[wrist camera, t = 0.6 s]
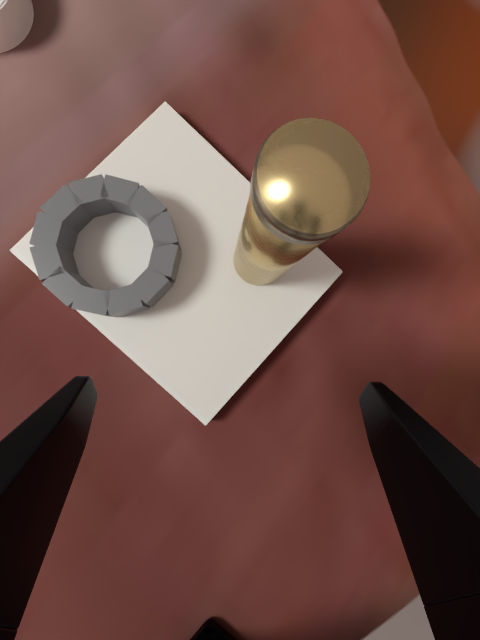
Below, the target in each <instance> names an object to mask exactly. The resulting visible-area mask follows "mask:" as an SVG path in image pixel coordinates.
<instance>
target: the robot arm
mask: <svg viewBox="0 0 480 640" xmlns="http://www.w3.org/2000/svg"><path fill="white" fill-rule="evenodd" d="M96 401H97V391H96V388H95V386H94V383H93V380H92V378H91V377H89V376H76V377H74V378H73V379H72V380H71V381H69V382H68V383H67V384H66V385H65V386H64V387H63V388H61V389H60V390H59V391H58V392H57V393H56V394H54V395H53V396H52V397H51V398H50V399H49V400H47V401H46V402H45V403H44V404H43V405H42V406H41V407H39V408H38V409H37V410H36V411H35V412H34V413H32V414H31V415H30V416H29V417H28V418H27V419H26V420H24V421H23V422H22V423H21V424H20V425H19V426H17V427H16V428H15V429H14V430H13V431H12V432H11V433H9V434H8V435H7V436H6V437H5V438H4V439H2V440H1V441H0V640H14V639H15V636H16V633H17V629H18V627H19V625H20V622H21V619H22V617H23V614H24V611H25V608H26V606H27V603H28V600H29V598H30V595H31V592H32V589H33V587H34V584H35V581H36V579H37V576H38V573H39V571H40V568H41V565H42V562H43V560H44V557H45V554H46V552H47V549H48V546H49V543H50V541H51V538H52V535H53V533H54V530H55V527H56V524H57V522H58V519H59V516H60V514H61V511H62V508H63V506H64V503H65V500H66V497H67V495H68V492H69V489H70V487H71V484H72V481H73V478H74V476H75V473H76V470H77V468H78V465H79V462H80V460H81V457H82V454H83V451H84V448H85V445H86V441H87V438H88V433H89V429H90V425H91V421H92V417H93V413H94V409H95V405H96ZM360 406H361V411H362V415H363V419H364V424H365V428H366V433H367V437H368V441H369V445H370V448H371V452H372V455H373V458H374V460H375V463H376V466H377V469H378V472H379V475H380V478H381V481H382V484H383V487H384V490H385V493H386V496H387V499H388V502H389V505H390V508H391V511H392V514H393V516H394V519H395V522H396V525H397V528H398V531H399V534H400V537H401V540H402V543H403V546H404V549H405V552H406V555H407V558H408V561H409V564H410V567H411V570H412V572H413V575H414V578H415V581H416V584H417V587H418V590H419V593H420V596H421V599H422V602H423V604H424V605H425V606H424V608H425V611H426V614H427V617H428V620H429V623H430V626H431V629H432V632H433V635H434V638H435V640H480V468H479V467H478V466H476V465H475V464H474V463H473V462H472V461H471V460H470V459H469V458H467V457H466V456H465V455H464V454H463V453H462V452H461V451H459V450H458V449H457V448H456V447H455V446H454V445H453V444H451V443H450V442H449V441H448V440H447V439H446V438H445V437H444V436H442V435H441V434H440V433H439V432H438V431H437V430H436V429H434V428H433V427H432V426H431V425H430V424H429V423H428V422H427V421H425V420H424V419H423V418H422V417H421V416H420V415H419V414H417V413H416V412H415V411H414V410H413V409H412V408H411V407H410V406H408V405H407V404H406V403H405V402H404V401H403V400H402V399H400V398H399V397H398V396H397V395H396V394H395V393H394V392H393V391H391V390H390V389H389V388H388V387H387V386H386V385H385V384H383V383H381V382H369V383H368V384H367V385H366V387H365V389H364V390H363V392H362V393H361V395H360ZM208 629H211V630H208ZM190 640H236V639H235V638H233V637H232V636H231V635H230V634H229V633H227V632H226V631H225V630H224V629H223V628H222V627H220V626H219V625H218V624H217V623H216V622H215V621H213V620H207V621H206V622H204V624H203V625H202V626H201V627H200V629H199V630H198V631H197V632H196V633H195V635H194V636H193V637H192V638H191V639H190Z"/></svg>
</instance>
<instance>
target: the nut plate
mask: <svg viewBox="0 0 480 640" xmlns="http://www.w3.org/2000/svg"><path fill="white" fill-rule="evenodd" d="M68 184H69V187H70V189H69V188H68V187H67V186H66V185H65V184H64V185H63V186H62V187H61V188H60V189H59V190H58V191H57V192H56V193H55V194H54V195H53V196H52V197H51V198H50V199H49V200H48V201H47V202H45V203H44V204H43V205H42V206H41V207H40V208H41V209H42V210H43V211H44V212H45V213H44V212H40V211H38V213H37V217H36V220H35V224H34V227H33V228H32V229H31V230H30V231H29V232H28V233H27V234H26V235H25V236H24V237H23V238H22V239H21V240H20V241H19V242H18V243H17V244H16V245H15V246H14V247H13V248H12V249H10V251H11V252H12V253H13V254H14V255H15V256H16V257H17V258H18V259H20V260H21V261H22V262H23V263H24V264H25V265H26V266H27V267H29V268H30V269H31V270H32V271H33V272H34V273H35V274H36V275H38V277H39V280H41V281H44V282H43V283H42V284H43V285H44V286H45V287H46V288H47V289H48V290H50V291H51V292H52V293H53V294H54V295H55V296H56V297H57V298H59V299H60V300H61V301H62V302H63V303H64V304H65V305H66V306H68V307H72V308H71V309H76V310H77V311H78V312H79V313H80V314H81V315H82V316H83V317H85V318H86V319H87V320H88V321H89V322H90V323H91V324H92V325H94V326H95V327H96V328H97V329H98V330H99V331H100V332H101V333H102V334H104V335H105V336H106V337H107V338H108V339H109V340H110V341H111V342H113V343H114V344H115V345H116V346H117V347H118V348H119V349H120V350H122V351H123V352H124V353H125V354H126V355H127V356H128V357H129V358H130V359H132V360H133V361H134V362H135V363H136V364H137V365H138V366H139V367H141V368H142V369H143V370H144V371H145V372H146V373H147V374H148V375H150V376H151V377H152V378H153V379H154V380H155V381H156V382H157V383H158V384H160V385H161V386H162V387H163V388H164V389H165V390H166V391H167V392H169V393H170V394H171V395H172V396H173V397H174V398H175V399H176V400H178V401H179V402H180V403H181V404H182V405H183V406H184V407H185V408H186V409H188V410H189V411H190V412H191V413H192V414H193V415H194V416H195V417H197V418H198V419H199V420H200V421H201V422H202V423H203V424H204V425H207V424H208V423H209V421H210V420H211V419H212V418H213V417H214V416H215V415H216V414H217V413H218V411H219V410H220V409H221V408H222V407H223V406H224V405H225V404H226V402H227V401H228V400H229V399H230V398H231V397H232V396H233V395H234V393H235V392H236V391H237V390H238V389H239V388H240V387H241V386H242V384H243V383H244V382H245V381H246V380H247V379H248V378H249V377H250V375H251V374H252V373H253V372H254V371H255V370H256V369H257V368H258V367H259V365H260V364H261V363H262V362H263V361H264V360H265V359H266V358H267V356H268V355H269V354H270V353H271V352H272V351H273V350H274V349H275V347H276V346H277V345H278V344H279V343H280V342H281V341H282V340H283V338H284V337H285V336H286V335H287V334H288V333H289V332H290V331H291V329H292V328H293V327H294V326H295V325H296V324H297V323H298V322H299V321H300V319H301V318H302V317H303V316H304V315H305V314H306V313H307V312H308V310H309V309H310V308H311V307H312V306H313V305H314V304H315V303H316V301H317V300H318V299H319V298H320V297H321V296H322V295H323V294H324V292H325V291H326V290H327V289H328V288H329V287H330V286H331V285H332V283H333V282H334V281H335V280H336V279H337V278H338V277H339V276H340V275H341V273H342V272H343V271H342V270H341V269H340V268H339V267H338V266H337V265H336V264H334V263H333V262H332V261H331V260H330V259H329V258H328V257H327V256H326V255H325V254H324V253H323V252H322V251H321V250H320V249H319V248H318V247H316V248H315V249H314V250H313V251H311V252H310V253H309V254H308V255H306V256H305V257H304V258H303V259H301V260H300V261H299V262H298V263H296V264H295V265H294V266H293V267H291V268H290V269H289V270H288V271H286V272H285V273H284V274H282V275H281V276H280V277H279V278H277V279H276V280H275V281H274V282H272V283H270V284H268V285H264V286H256V285H252V284H249V283H247V282H245V281H244V280H243V279H242V278H241V277H240V276H239V275H238V274H237V272H236V270H235V267H234V262H233V257H234V252H235V248H236V244H237V241H238V237H239V233H240V229H241V225H242V222H243V218H244V214H245V210H246V206H247V203H248V199H249V195H250V182H249V181H248V180H247V179H246V178H245V177H244V176H243V175H241V174H240V173H239V172H238V171H237V170H236V169H235V168H234V167H233V166H232V165H231V164H230V163H229V162H228V161H227V160H226V159H225V158H224V157H223V156H222V155H221V154H220V153H219V152H217V151H216V150H215V149H214V148H213V147H212V146H211V145H210V144H209V143H208V142H207V141H206V140H205V139H204V138H203V137H202V136H201V135H200V134H199V133H198V132H197V131H196V130H194V129H193V128H192V127H191V126H190V125H189V124H188V123H187V122H186V121H185V120H184V119H183V118H182V117H181V116H180V115H179V114H178V113H177V112H176V111H175V110H174V109H173V108H171V107H170V106H169V105H168V104H167V103H166V102H164V103H163V104H162V105H161V106H160V107H159V108H158V109H157V110H156V111H155V112H154V113H152V114H151V115H150V116H149V117H148V118H147V119H146V120H145V121H144V122H143V123H142V124H141V125H140V126H139V127H138V128H137V129H136V130H135V131H134V132H133V133H132V134H131V135H130V136H128V137H127V138H126V139H125V140H124V141H123V142H122V143H121V144H120V145H119V146H118V147H117V148H116V149H115V150H114V151H113V152H112V153H111V154H110V155H109V156H108V157H107V158H105V159H104V160H103V161H102V162H101V163H100V164H99V165H98V166H97V167H96V168H95V169H94V170H93V171H92V172H91V173H90V174H89V175H88V176H87V177H86V178H84V179H80V180H76V181H72V182H68Z"/></svg>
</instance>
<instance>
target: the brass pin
mask: <svg viewBox="0 0 480 640" xmlns="http://www.w3.org/2000/svg"><path fill="white" fill-rule="evenodd" d="M369 185H370V171H369V165H368V161H367V158H366V156H365V153H364V151H363V150H362V148H361V146H360V145H359V143H358V142H357V140H356V139H355V138H354V137H353V136H352V135H351V134H350V133H349V132H348V131H346V130H345V129H344V128H342V127H341V126H339V125H337V124H335V123H333V122H330V121H327V120H323V119H318V118H303V119H297V120H294V121H291V122H289V123H287V124H285V125H283V126H281V127H280V128H278V129H277V130H275V131H274V132H273V133H272V134H271V135H269V137H268V138H267V139H266V140H265V141H264V143H263V144H262V146H261V148H260V150H259V152H258V154H257V158H256V161H255V165H254V169H253V173H252V177H251V183H250V195H249V199H248V203H247V206H246V210H245V214H244V218H243V222H242V225H241V229H240V233H239V237H238V241H237V244H236V248H235V252H234V257H233V262H234V267H235V270H236V272H237V274H238V275H239V276H240V277H241V278H242V279H243V280H244V281H245V282H247V283H249V284H252V285H256V286H264V285H268V284H270V283H272V282H274V281H275V280H276V279H277V278H279V277H280V276H281V275H282V274H284V273H285V272H286V271H288V270H289V269H290V268H291V267H293V266H294V265H295V264H296V263H298V262H299V261H300V260H301V259H303V258H304V257H305V256H306V255H308V254H309V253H310V252H311V251H313V250H314V249H315V248H316V247H318V246H319V245H320V244H321V243H323V242H324V241H327V240H329V239H331V238H332V237H334V236H335V235H337V234H338V233H339V232H341V231H342V230H343V229H344V228H346V227H347V226H348V225H350V224H351V223H352V222H353V221H354V220H355V219H356V218H357V216H358V215H359V214H360V212H361V211H362V209H363V207H364V205H365V203H366V200H367V197H368V193H369Z"/></svg>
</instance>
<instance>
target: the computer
mask: <svg viewBox="0 0 480 640" xmlns="http://www.w3.org/2000/svg"><path fill="white" fill-rule="evenodd" d="M33 18H34V12H33V5H32V1H31V0H0V53H3V52H7V51H9V50H11V49H13V48H15V47H16V46H18V45H19V44H20V43H21V42H22V41H23V40H24V39H25V38H26V37H27V35H28V33H29V32H30V30H31V27H32V24H33Z"/></svg>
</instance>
